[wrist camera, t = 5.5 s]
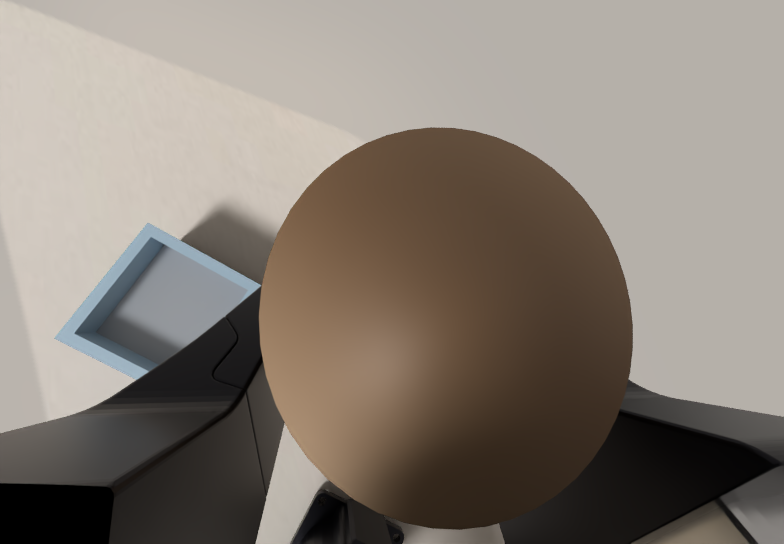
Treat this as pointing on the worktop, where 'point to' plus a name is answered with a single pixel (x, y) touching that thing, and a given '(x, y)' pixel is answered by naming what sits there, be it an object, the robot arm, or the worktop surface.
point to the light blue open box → (153, 303)
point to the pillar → (445, 328)
